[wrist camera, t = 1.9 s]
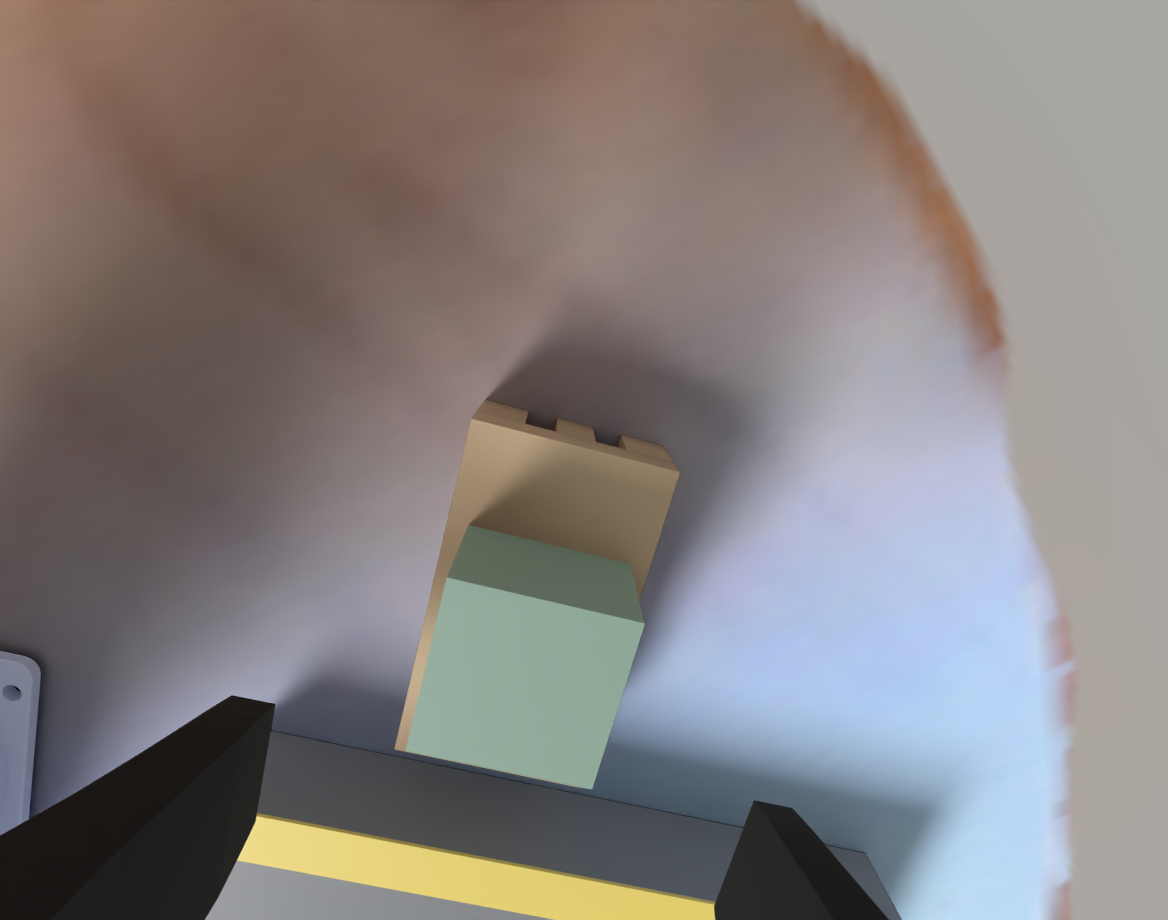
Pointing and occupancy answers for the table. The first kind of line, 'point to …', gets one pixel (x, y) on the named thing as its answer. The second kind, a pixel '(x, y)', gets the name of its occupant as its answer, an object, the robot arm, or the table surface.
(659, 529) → the pallet
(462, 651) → the green block
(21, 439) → the table surface
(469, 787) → the dock
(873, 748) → the table surface
